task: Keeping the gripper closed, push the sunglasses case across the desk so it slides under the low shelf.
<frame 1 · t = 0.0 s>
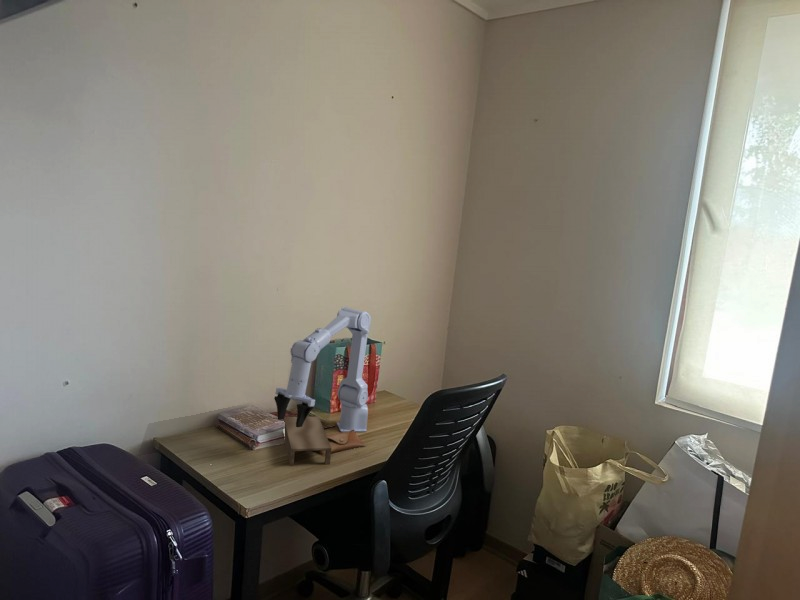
hand: (289, 423, 169), 11 cm above the table, tool pointing down, fingers open, 7 cm apart
low shelf: (304, 447, 178), on the table
sunglasses case: (338, 448, 181), on the table
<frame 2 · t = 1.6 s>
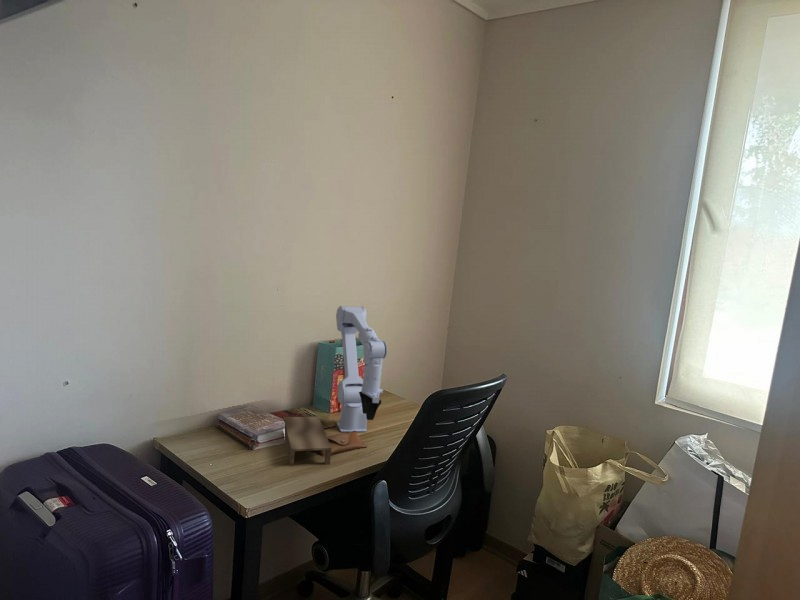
hand: (367, 416, 182), 10 cm above the table, tool pointing down, fingers open, 5 cm apart
nothing on the table moved.
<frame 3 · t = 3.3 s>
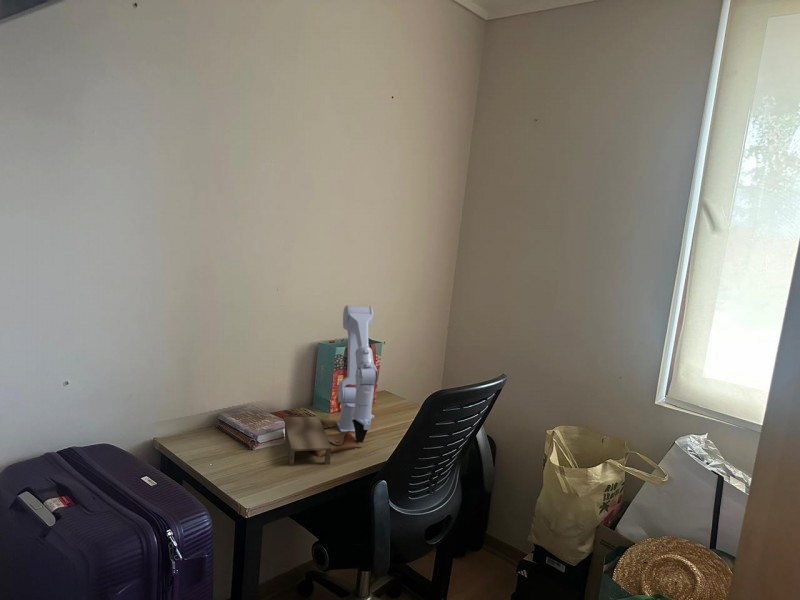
hand: (359, 441, 183), 1 cm above the table, tool pointing down, fingers closed, pressing on sunglasses case
sunglasses case: (334, 449, 180), on the table, touching gripper
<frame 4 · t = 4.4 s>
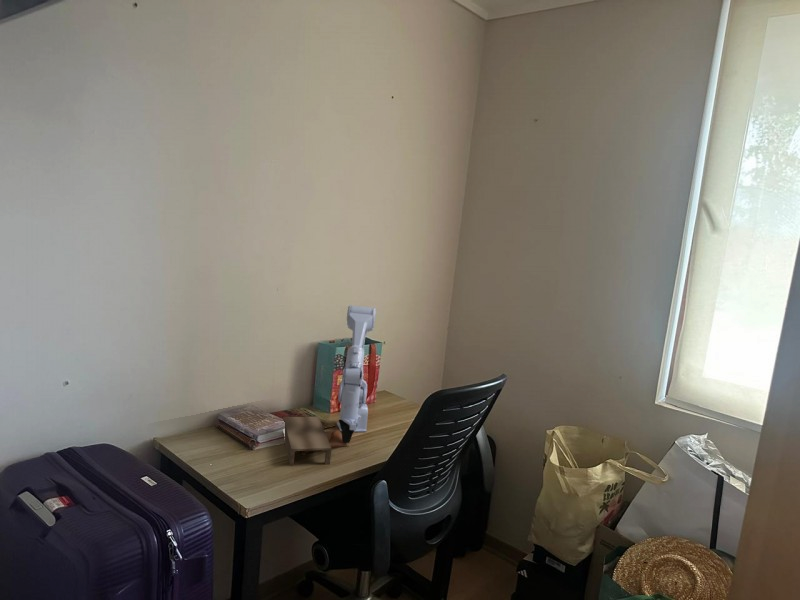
hand: (346, 442, 181), 1 cm above the table, tool pointing down, fingers closed
sunglasses case: (320, 447, 180), on the table
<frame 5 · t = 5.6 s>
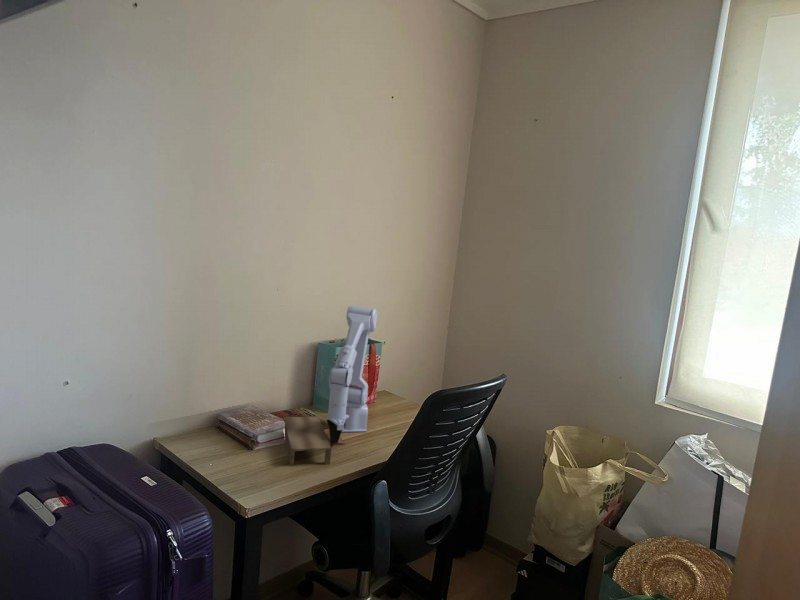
hand: (334, 442, 180), 1 cm above the table, tool pointing down, fingers closed
sunglasses case: (317, 445, 182), on the table
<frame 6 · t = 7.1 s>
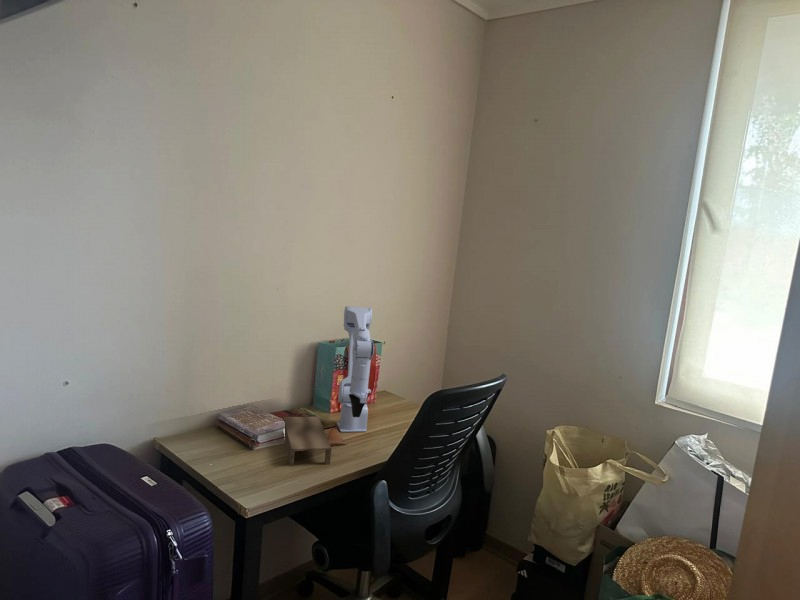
hand: (356, 416, 181), 10 cm above the table, tool pointing down, fingers closed
nothing on the table moved.
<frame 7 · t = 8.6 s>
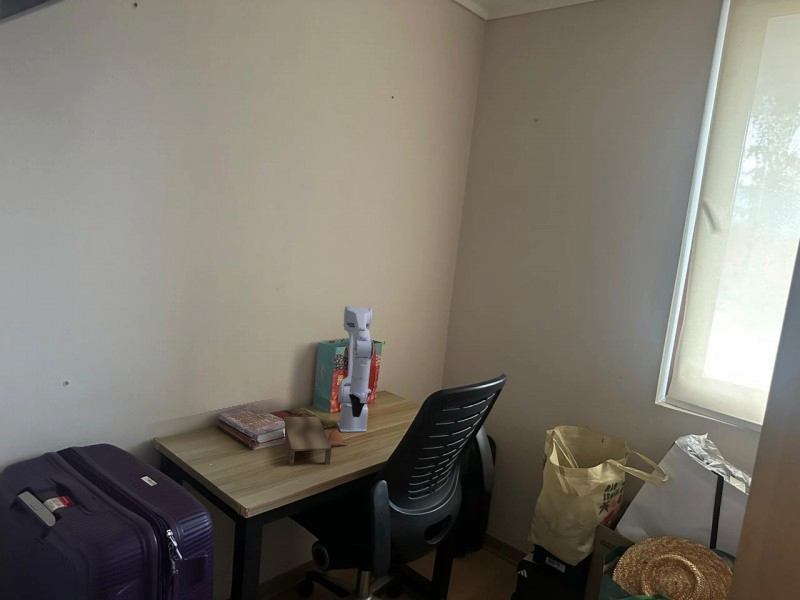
hand: (356, 416, 181), 10 cm above the table, tool pointing down, fingers closed
at the end: sunglasses case inside the target area on the low shelf (3.4 cm from its centre), point -0.7 cm above the low shelf's base; sunglasses case moved 6.2 cm from its start; sunglasses case tilted 0° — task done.
